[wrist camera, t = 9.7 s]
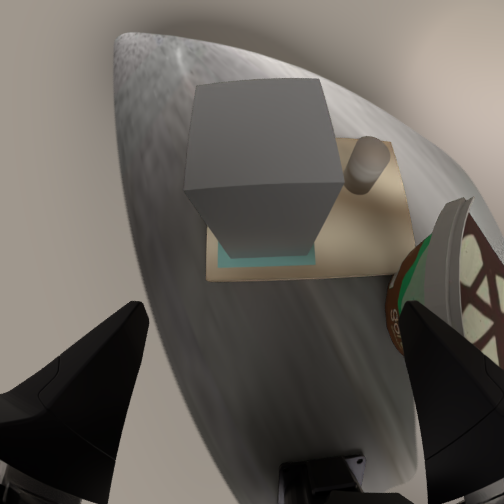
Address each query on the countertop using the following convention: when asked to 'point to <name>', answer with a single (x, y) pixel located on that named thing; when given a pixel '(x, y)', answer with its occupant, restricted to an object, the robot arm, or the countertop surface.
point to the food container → (454, 282)
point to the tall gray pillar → (263, 164)
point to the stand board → (341, 226)
